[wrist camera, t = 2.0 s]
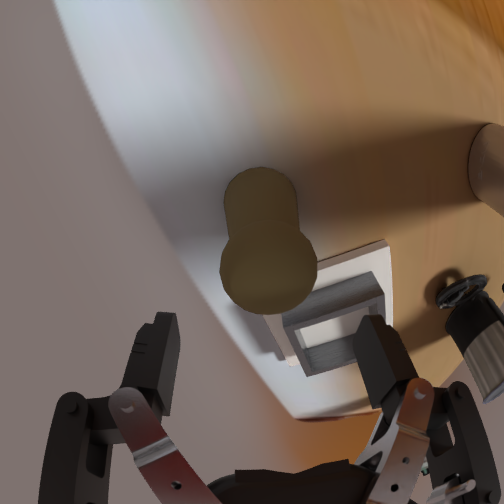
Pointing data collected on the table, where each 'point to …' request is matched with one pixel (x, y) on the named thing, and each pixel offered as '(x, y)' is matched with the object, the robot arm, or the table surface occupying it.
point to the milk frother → (477, 332)
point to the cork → (265, 244)
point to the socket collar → (328, 307)
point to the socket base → (334, 272)
